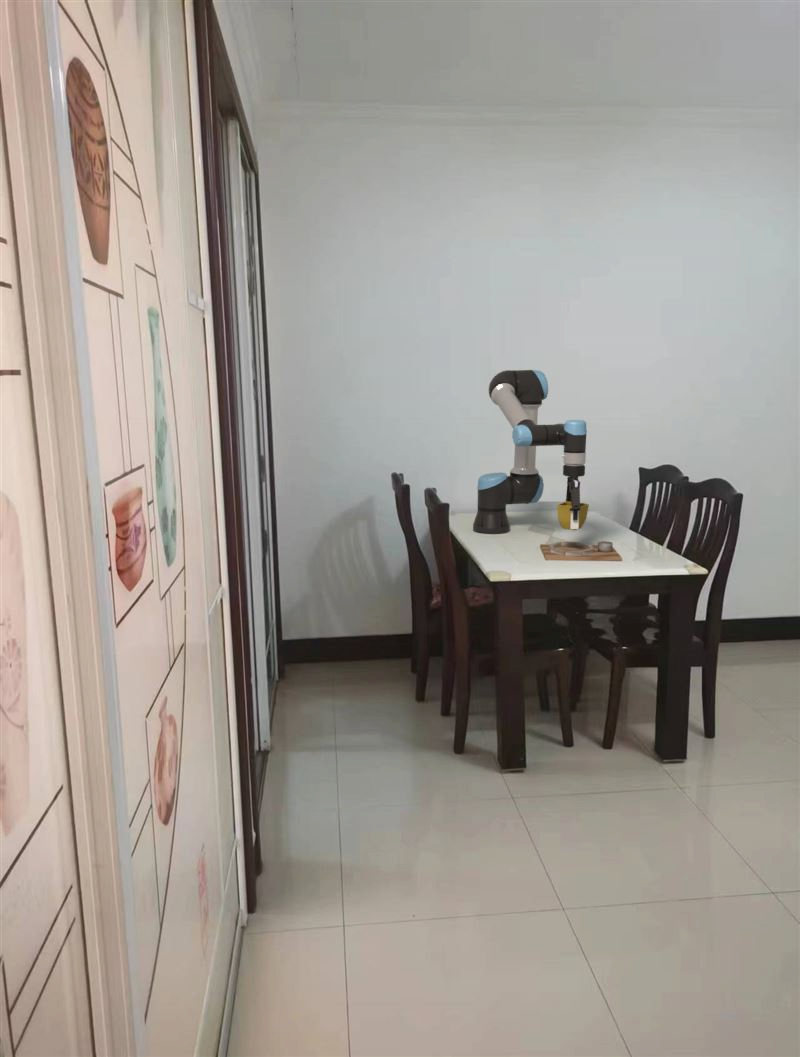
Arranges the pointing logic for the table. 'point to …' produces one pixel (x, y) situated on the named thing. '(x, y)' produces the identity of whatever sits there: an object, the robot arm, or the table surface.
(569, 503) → the flower pot
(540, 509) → the table surface
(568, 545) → the carrier board
